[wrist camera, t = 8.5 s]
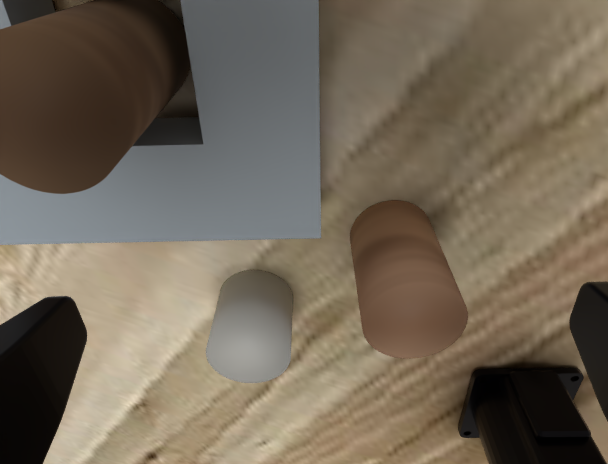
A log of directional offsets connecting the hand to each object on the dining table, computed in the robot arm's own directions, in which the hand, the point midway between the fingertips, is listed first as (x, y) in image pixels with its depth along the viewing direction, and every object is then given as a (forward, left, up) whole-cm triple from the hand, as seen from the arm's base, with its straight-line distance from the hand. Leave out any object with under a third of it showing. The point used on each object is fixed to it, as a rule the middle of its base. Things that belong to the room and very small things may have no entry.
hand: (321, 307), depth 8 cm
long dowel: (+2, +7, -13) cm, 14 cm away
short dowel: (-11, +3, -13) cm, 17 cm away
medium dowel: (-7, -4, -13) cm, 15 cm away
